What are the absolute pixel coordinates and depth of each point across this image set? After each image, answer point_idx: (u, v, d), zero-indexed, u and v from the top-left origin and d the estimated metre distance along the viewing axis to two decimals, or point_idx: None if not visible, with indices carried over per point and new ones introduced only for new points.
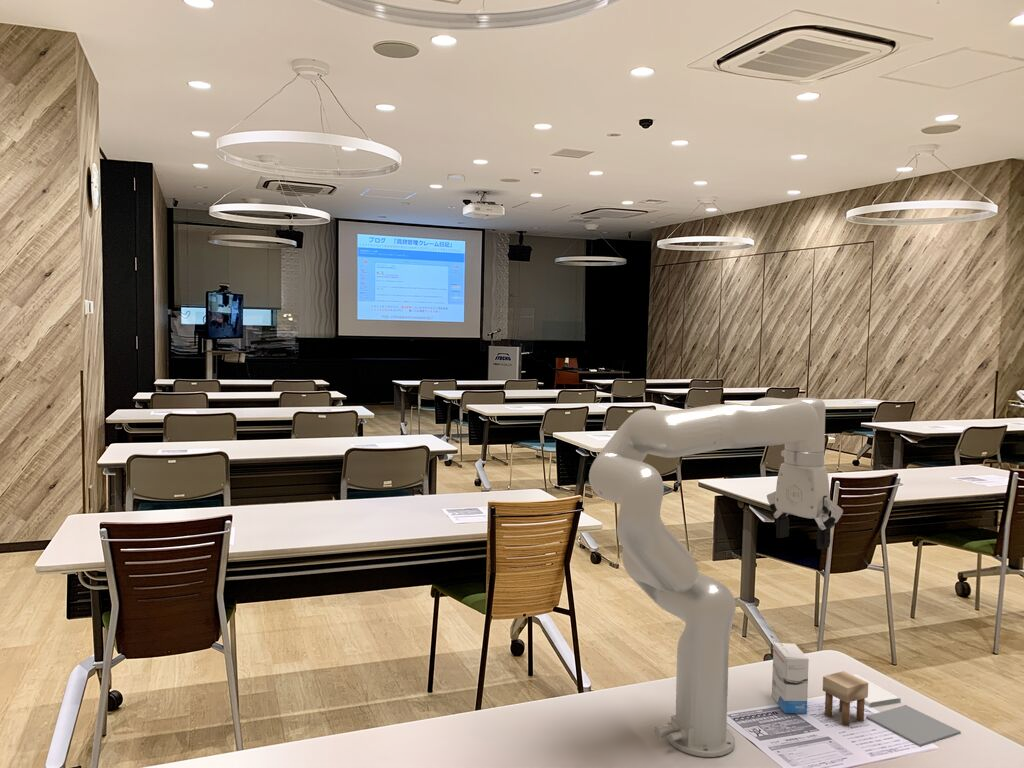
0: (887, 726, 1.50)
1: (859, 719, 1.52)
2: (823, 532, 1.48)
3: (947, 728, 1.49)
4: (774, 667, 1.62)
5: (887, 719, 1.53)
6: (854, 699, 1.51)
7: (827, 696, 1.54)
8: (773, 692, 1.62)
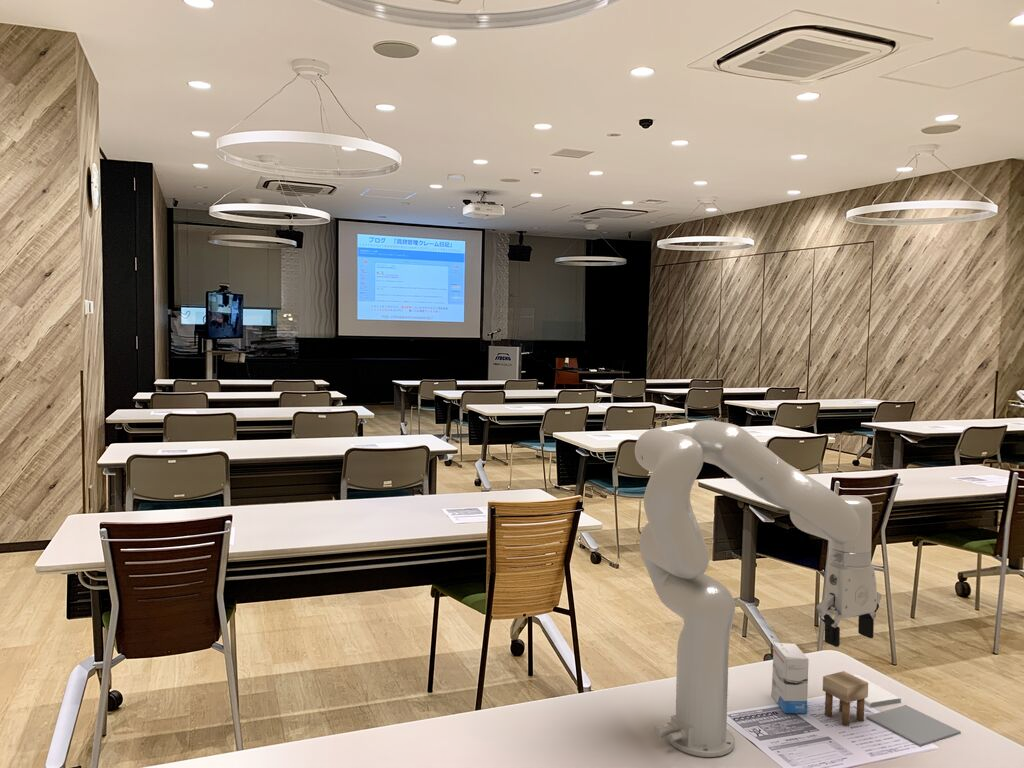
0: (887, 726, 1.50)
1: (859, 719, 1.52)
2: None
3: (947, 728, 1.49)
4: (774, 667, 1.62)
5: (887, 719, 1.53)
6: (854, 699, 1.51)
7: (827, 696, 1.54)
8: (773, 692, 1.62)
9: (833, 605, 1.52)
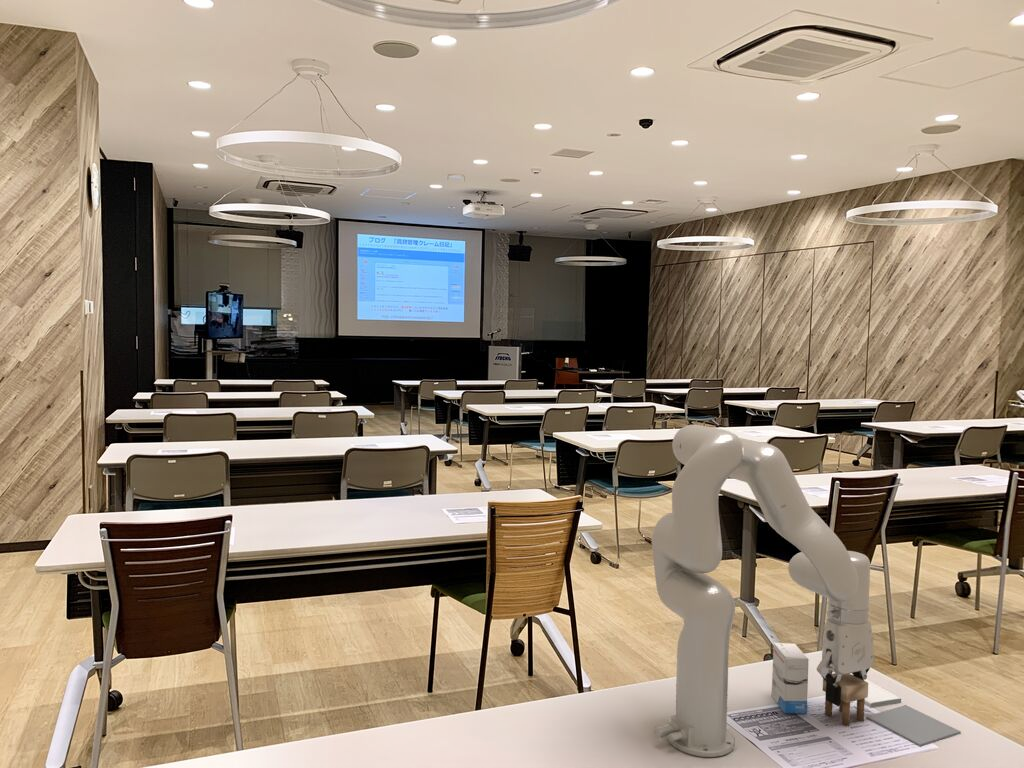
0: (887, 726, 1.50)
1: (859, 719, 1.53)
2: None
3: (947, 728, 1.49)
4: (774, 667, 1.62)
5: (887, 719, 1.53)
6: (854, 699, 1.51)
7: None
8: (773, 692, 1.62)
9: None
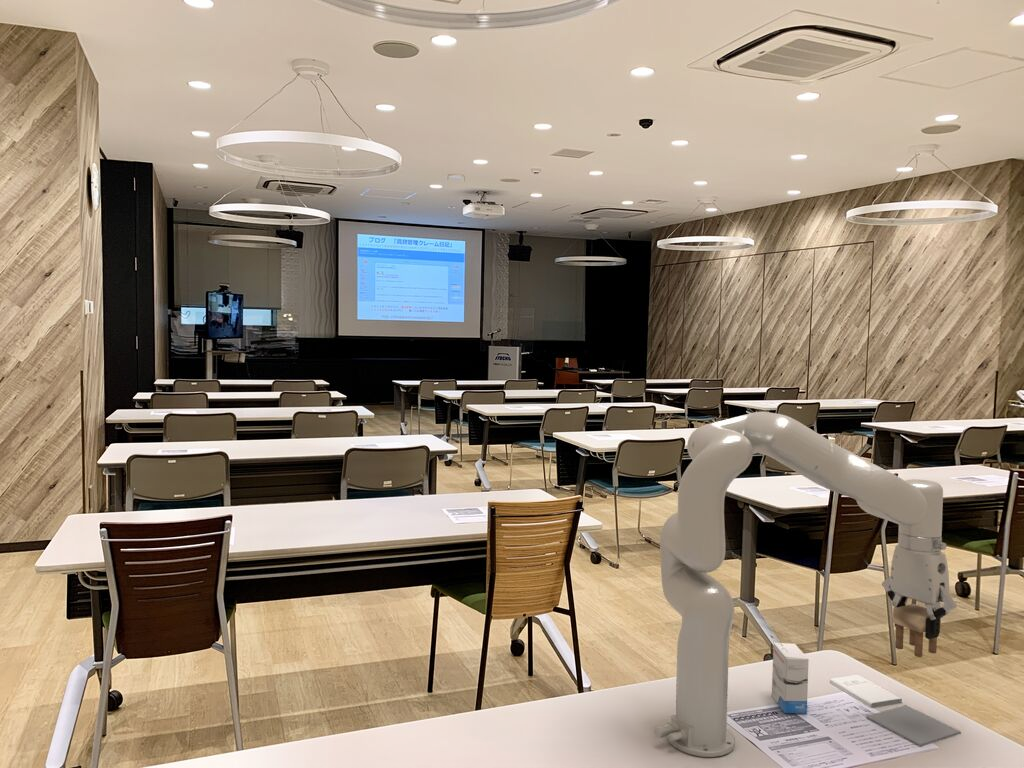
0: (887, 726, 1.50)
1: None
2: None
3: (947, 728, 1.49)
4: (774, 667, 1.62)
5: (887, 719, 1.53)
6: None
7: (922, 636, 1.47)
8: (773, 692, 1.62)
9: None
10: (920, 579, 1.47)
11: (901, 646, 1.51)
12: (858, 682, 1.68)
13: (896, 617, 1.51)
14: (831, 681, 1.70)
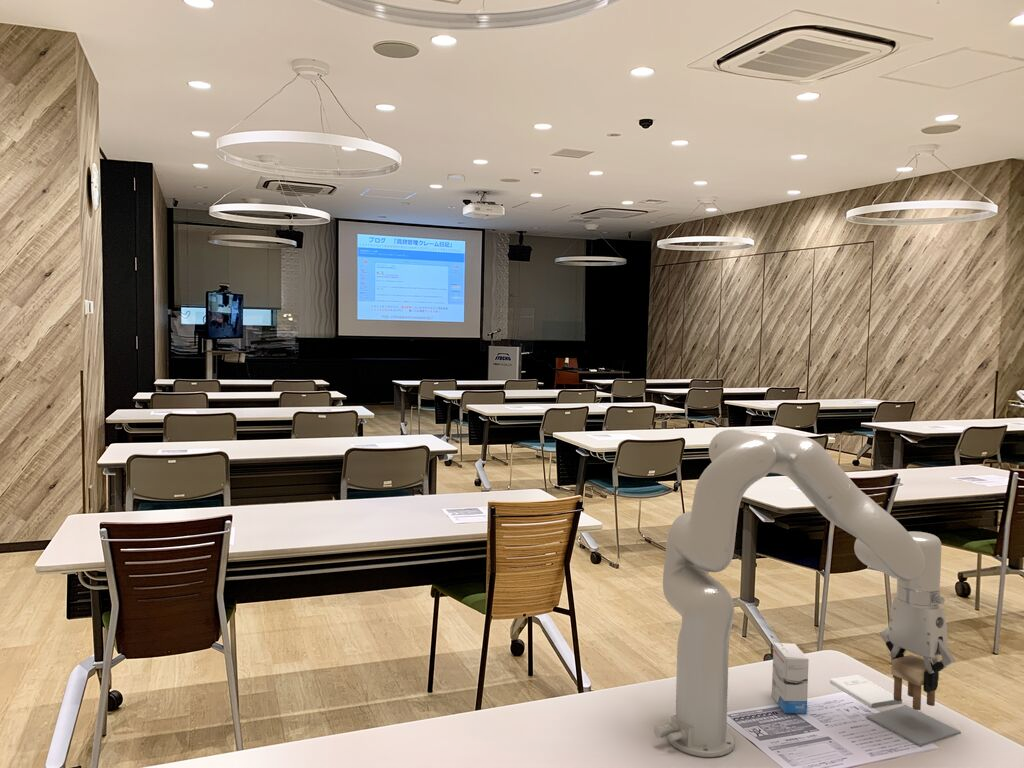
0: (887, 726, 1.50)
1: None
2: None
3: (947, 728, 1.49)
4: (774, 667, 1.62)
5: (887, 719, 1.53)
6: None
7: None
8: (773, 692, 1.62)
9: None
10: (918, 632, 1.47)
11: (899, 698, 1.51)
12: (859, 682, 1.68)
13: (894, 669, 1.51)
14: (831, 681, 1.70)
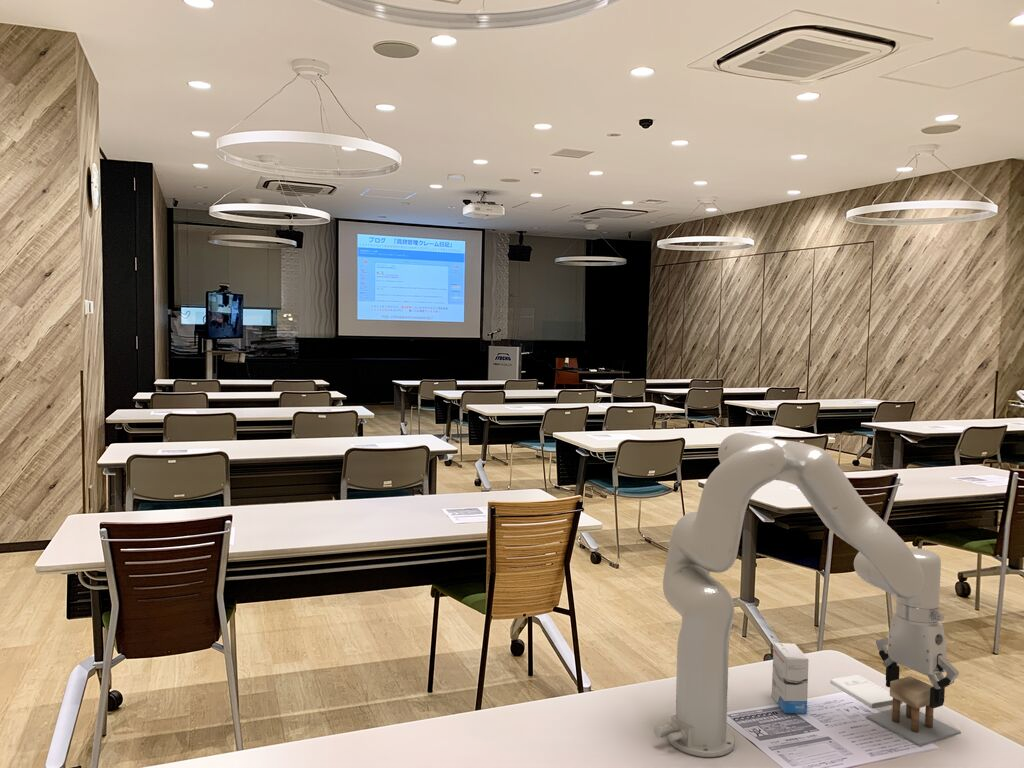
0: (887, 726, 1.50)
1: None
2: None
3: (947, 728, 1.49)
4: (774, 667, 1.62)
5: (887, 719, 1.53)
6: None
7: (919, 711, 1.48)
8: (773, 692, 1.62)
9: None
10: (917, 649, 1.47)
11: (898, 720, 1.51)
12: (859, 683, 1.68)
13: (893, 691, 1.52)
14: (832, 681, 1.70)
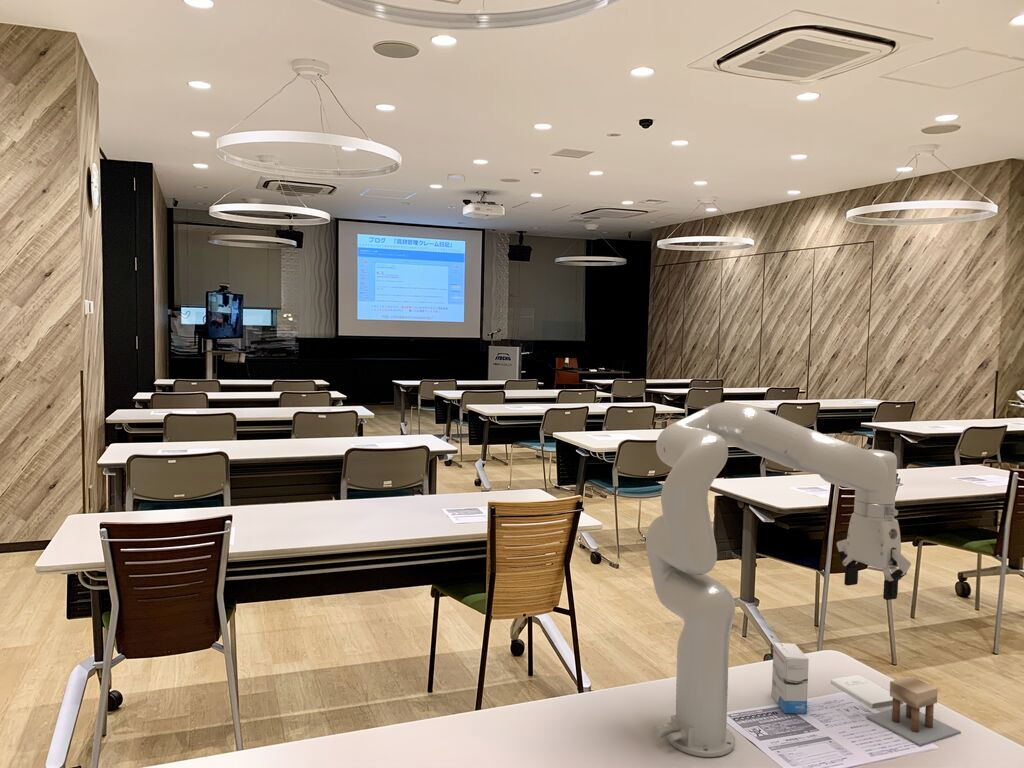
0: (887, 726, 1.50)
1: None
2: None
3: (947, 728, 1.49)
4: (774, 667, 1.62)
5: (887, 719, 1.53)
6: None
7: (919, 711, 1.48)
8: (773, 692, 1.62)
9: None
10: (873, 544, 1.53)
11: (898, 720, 1.51)
12: (859, 683, 1.68)
13: (893, 691, 1.52)
14: (832, 681, 1.70)
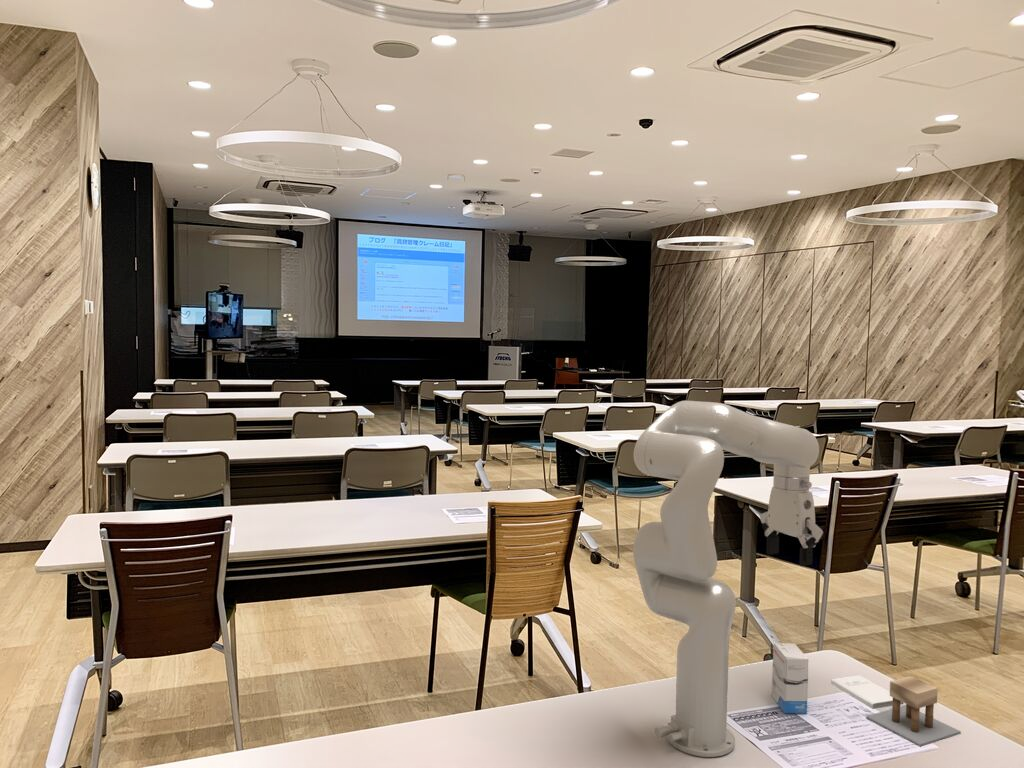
0: (887, 726, 1.50)
1: None
2: None
3: (947, 728, 1.49)
4: (774, 667, 1.62)
5: (887, 719, 1.53)
6: None
7: (919, 711, 1.48)
8: (773, 692, 1.62)
9: None
10: (789, 515, 1.65)
11: (898, 720, 1.51)
12: (860, 683, 1.68)
13: (893, 691, 1.52)
14: (832, 682, 1.69)
